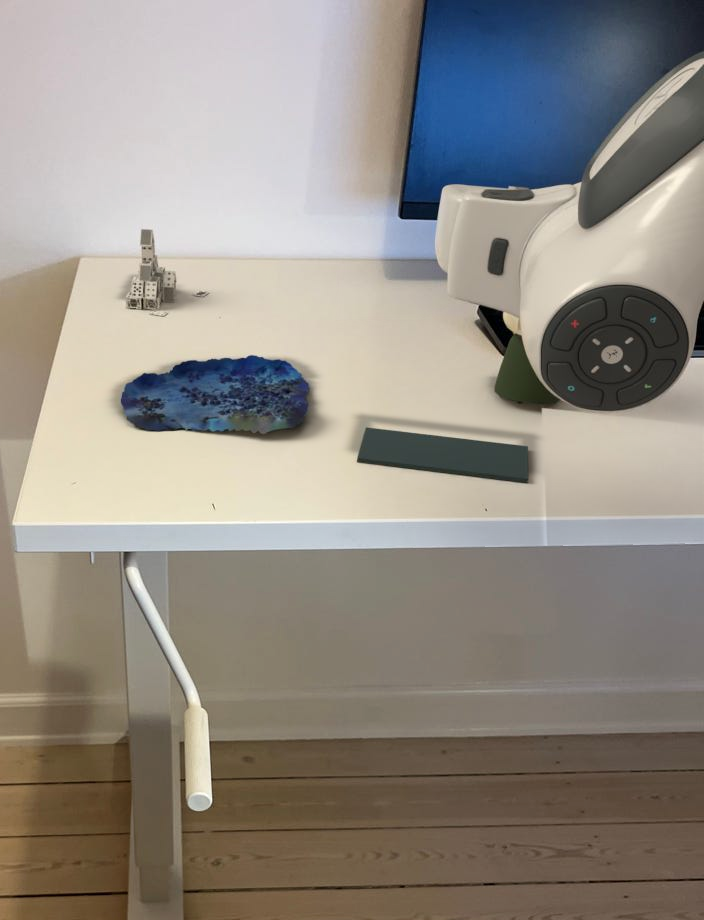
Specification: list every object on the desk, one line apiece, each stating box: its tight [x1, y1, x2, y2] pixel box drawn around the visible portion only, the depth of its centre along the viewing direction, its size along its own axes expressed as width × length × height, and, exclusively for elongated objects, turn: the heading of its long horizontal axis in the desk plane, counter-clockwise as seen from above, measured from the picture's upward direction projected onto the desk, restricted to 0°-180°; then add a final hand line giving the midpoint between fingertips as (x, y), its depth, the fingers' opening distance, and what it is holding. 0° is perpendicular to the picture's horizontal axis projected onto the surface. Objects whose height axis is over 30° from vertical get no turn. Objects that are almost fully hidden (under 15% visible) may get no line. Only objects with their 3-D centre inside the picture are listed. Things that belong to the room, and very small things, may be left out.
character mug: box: [494, 311, 561, 406], centre depth 90 cm, size 11×7×13 cm, turn 140°
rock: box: [120, 354, 310, 435], centre depth 92 cm, size 15×17×2 cm
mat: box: [356, 426, 529, 484], centre depth 84 cm, size 14×6×1 cm, turn 77°
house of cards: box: [125, 228, 210, 317], centre depth 111 cm, size 9×9×8 cm
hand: (582, 204), depth 72 cm, fingers open, 8 cm apart
